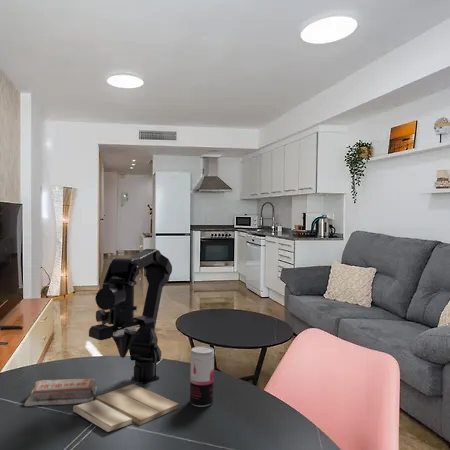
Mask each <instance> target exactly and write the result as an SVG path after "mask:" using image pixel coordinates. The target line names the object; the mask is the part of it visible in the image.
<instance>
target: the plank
mask: <svg viewBox="0 0 450 450" xmlns="http://www.w3.org/2000/svg"><path fill="white" fill-rule="evenodd" d="M72 411H73V412H74V413H76V414H77V415H79V416H81V417H82V418H84V419H86V420H87V421H89V422H91V424H94V425H95V426H97V427H99V428H101V429H102V430H103V431H105V432H107V433H109V432H112V431H115V430H118V429H121V428H123V427H127V426H129V425H132V424H133V421H132V419H131V418H130V417H128V416H126V415H124V414H122V413H120V412H118V411H116V410H115V409H113V408H111V407H109V406H107V405H105V404H103V403H101V402H100V401H98V400H96V399H95V400H93V401H91V402H87V403H79V404H76V405H73V407H72Z"/></svg>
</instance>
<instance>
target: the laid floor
mask: <svg viewBox="0 0 450 450" xmlns="http://www.w3.org/2000/svg"><path fill="white" fill-rule="evenodd" d="M95 400H98V401H100V402H101V403H103V404H105V405H107V406H109V407H111V408H113V409H115V410H116V411H118V412H120V413H122V414H124V415H126V416H128V417H130V418H131V419H132V423H135V424H137V425H139V426H141V425H144V424H146V423H149V422H151V421H153V420H155V419H157V418H159V417H162V416H164V415H166V414H168V413H171V412H173V411H175V410H178V409H179V406H180V405H179V403H178V402H175V401H173V400H171V399H168V398H166V397H164V396H162V395H160V394H158V393H155V392H153V391H151V390H148V389H146V388H143V387H141V386H139V385H137V384H135V383H132V384H129V385H126V386H123V387H120V388H118V389H115V390H112V391H109V392H107V393H103V394H100V395H97V396H95Z"/></svg>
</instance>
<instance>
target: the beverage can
mask: <svg viewBox="0 0 450 450" xmlns="http://www.w3.org/2000/svg"><path fill="white" fill-rule="evenodd" d="M189 376H190V383H189V385H190V386H189V402H190V404H191V405H193V406H195V407H199V408H202V407H203V408H204V407H205V408H206V407H208V406H210V405H212V404H213V402H214V382H215V380H214V379H215V350H214V348H213V347H211V346H205V345H202V346H201V345H200V346H199V345H198V346H195V347H192V348H191V351H190V375H189Z"/></svg>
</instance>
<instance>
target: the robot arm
mask: <svg viewBox="0 0 450 450" xmlns="http://www.w3.org/2000/svg"><path fill="white" fill-rule="evenodd" d="M142 269H143V270H144V271H145V278H146V281H147V284H148V285H147V291H146V295H145V299H144V304H143V305H144V306H143V309H142V315H139V316H135V317H134V314H135V313H134V312H135V311H137V309H138V307H137V306H136V305H135V285H137V281H136V280H137V279H136V278H137V276H139V274H140V270H142ZM172 272H173V265H172V263H171V261H170V260H169V258H168V257H166V256H165V255H163V254H162V253H161V251H160V250H159V249H157V248H146V249H143V250H142V251H140V252H138V253H135V254H134V255H131V256H130V257H115V258H113V259H112V260H111V262H110V263H109V265H108V269H107V271H106V274H105V277H104V279H103V284H102V288H101V289H99V290H98V291H97V292H96V295H95V299H94V300H95V303H96V305H97V307H99V309H98V310H96V311H95V320H96V322H97V323H100V322H101V324H95V325H92V326H90V328H89V330H88V337H90V338H91V339H92V338H93V339H95V340H97V341H104V340H110V339H111V338H112V339H113V340H114V341H113V342H114V343H115V345H116V348H117V350H118V353H119V356H120V358H122V359H123V358H125V357H126V356H127V353H128V352H129V357H130V359H129V360H130V361H134V367H133V376H131V379H132V380H134V381H137V382H139V383H141V384H147V383H150V382H153V381H155V380H156V381H157V380H158V379H160V376H158V375H157V363H159V362H161V358H162V351H161V349H160V347H159V345H158V342H159V341H158V340H159V339H158V336H157V333H156V330H155V329H156V325H157V318H158V314H159V310H160V309H159V308H160V303H161V298H162V293H163V288H164V286H165V285H166V284H167V283H168V282H169V281H170V277H171V274H172ZM107 324H108V325H107ZM137 328H138V329H137Z"/></svg>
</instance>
